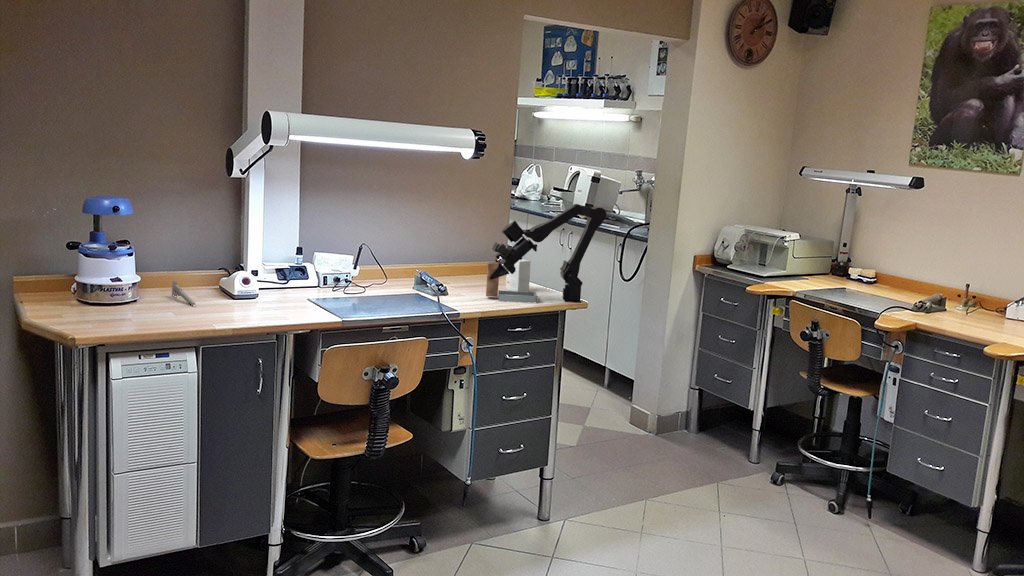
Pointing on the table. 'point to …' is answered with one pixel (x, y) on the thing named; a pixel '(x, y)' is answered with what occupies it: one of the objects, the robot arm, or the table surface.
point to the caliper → (180, 293)
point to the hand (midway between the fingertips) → (489, 277)
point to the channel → (517, 296)
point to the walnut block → (492, 284)
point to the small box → (519, 277)
